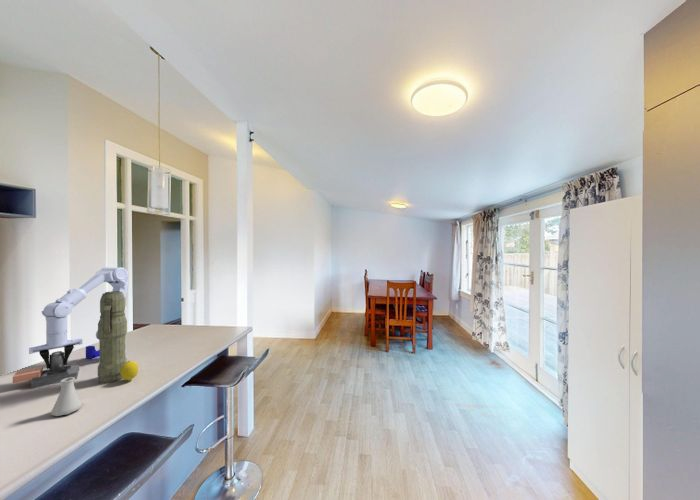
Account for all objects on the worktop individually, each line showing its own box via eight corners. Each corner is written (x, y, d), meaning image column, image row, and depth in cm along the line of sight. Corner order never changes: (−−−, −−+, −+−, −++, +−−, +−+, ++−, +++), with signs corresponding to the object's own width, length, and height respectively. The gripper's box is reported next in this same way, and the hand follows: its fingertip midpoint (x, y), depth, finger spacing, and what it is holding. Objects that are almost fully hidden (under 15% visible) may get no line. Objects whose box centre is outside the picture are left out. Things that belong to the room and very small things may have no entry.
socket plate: (79, 370, 116) (79, 362, 116) (76, 378, 109) (76, 370, 109) (37, 379, 108) (37, 370, 108) (31, 388, 101) (31, 379, 101)
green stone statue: (93, 387, 102) (93, 295, 102) (102, 375, 112) (102, 290, 112) (123, 382, 106) (123, 293, 106) (129, 370, 116) (129, 289, 116)
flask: (66, 404, 91) (66, 374, 91) (89, 403, 92) (89, 373, 92) (43, 417, 84) (43, 385, 84) (68, 416, 84) (68, 384, 84)
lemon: (118, 385, 103) (118, 364, 103) (122, 379, 108) (122, 359, 108) (136, 382, 106) (136, 361, 106) (139, 376, 111) (139, 356, 111)
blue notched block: (107, 349, 140) (108, 338, 140) (115, 350, 140) (115, 338, 140) (82, 359, 129) (82, 346, 129) (91, 359, 128) (91, 347, 128)
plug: (66, 367, 111) (66, 350, 111) (58, 371, 107) (59, 353, 107) (54, 368, 110) (54, 351, 110) (46, 372, 106) (46, 354, 106)
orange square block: (42, 372, 108) (42, 366, 108) (39, 378, 103) (39, 371, 103) (17, 377, 104) (17, 370, 104) (12, 383, 99) (12, 376, 99)
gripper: (81, 326, 117) (80, 358, 117) (28, 334, 106) (28, 369, 106) (83, 329, 112) (83, 362, 112) (29, 338, 101) (28, 374, 101)
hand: (56, 366), depth 109 cm, fingers closed on plug, 4 cm apart
